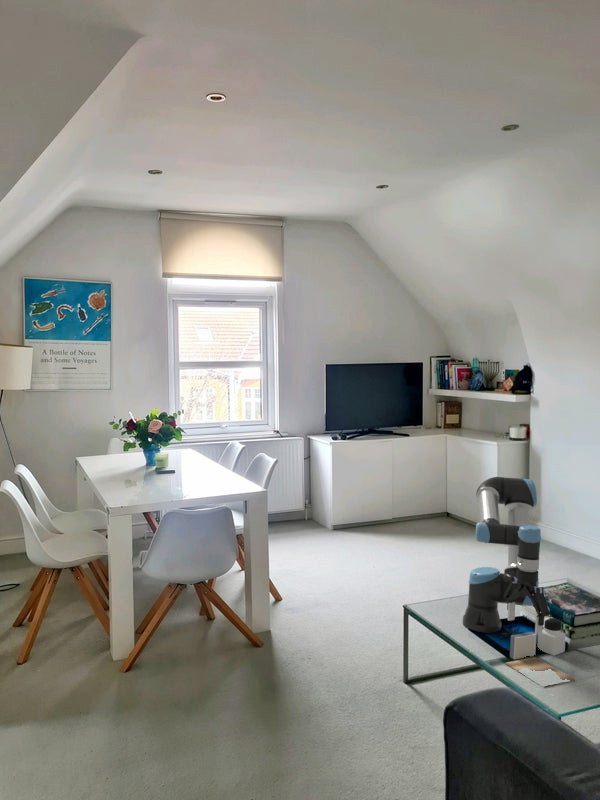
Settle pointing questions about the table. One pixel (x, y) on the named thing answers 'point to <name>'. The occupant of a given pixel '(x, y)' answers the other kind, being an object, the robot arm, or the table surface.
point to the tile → (522, 645)
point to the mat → (536, 666)
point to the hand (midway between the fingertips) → (524, 626)
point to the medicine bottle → (552, 637)
